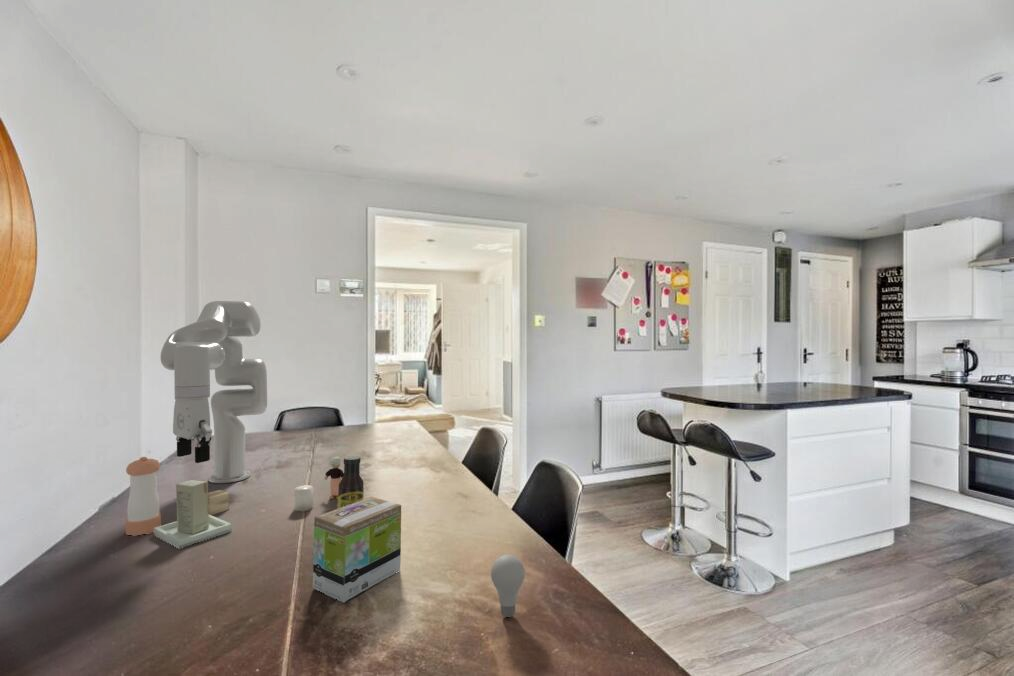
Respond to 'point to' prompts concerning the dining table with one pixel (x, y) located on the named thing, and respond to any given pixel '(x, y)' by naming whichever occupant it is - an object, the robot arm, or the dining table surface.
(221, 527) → the tray
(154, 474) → the salt shaker
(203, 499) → the skincare box
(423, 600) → the dining table surface
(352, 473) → the sauce bottle
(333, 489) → the grandmother figurine
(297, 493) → the cream cylinder
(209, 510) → the beech block
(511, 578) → the lightbulb
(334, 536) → the tea box
